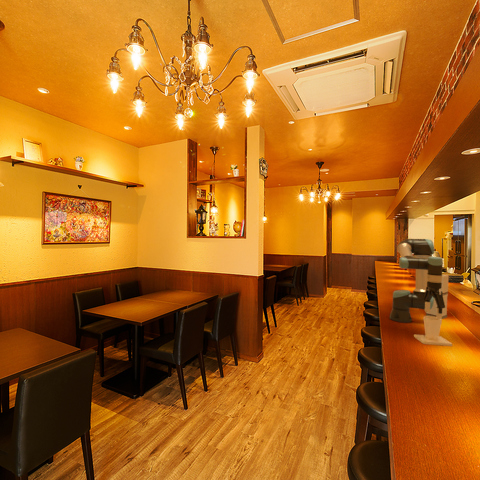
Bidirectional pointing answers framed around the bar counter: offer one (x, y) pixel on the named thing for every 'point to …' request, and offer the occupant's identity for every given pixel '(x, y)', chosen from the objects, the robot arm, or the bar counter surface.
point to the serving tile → (433, 342)
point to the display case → (445, 293)
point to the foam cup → (432, 327)
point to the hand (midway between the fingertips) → (432, 315)
